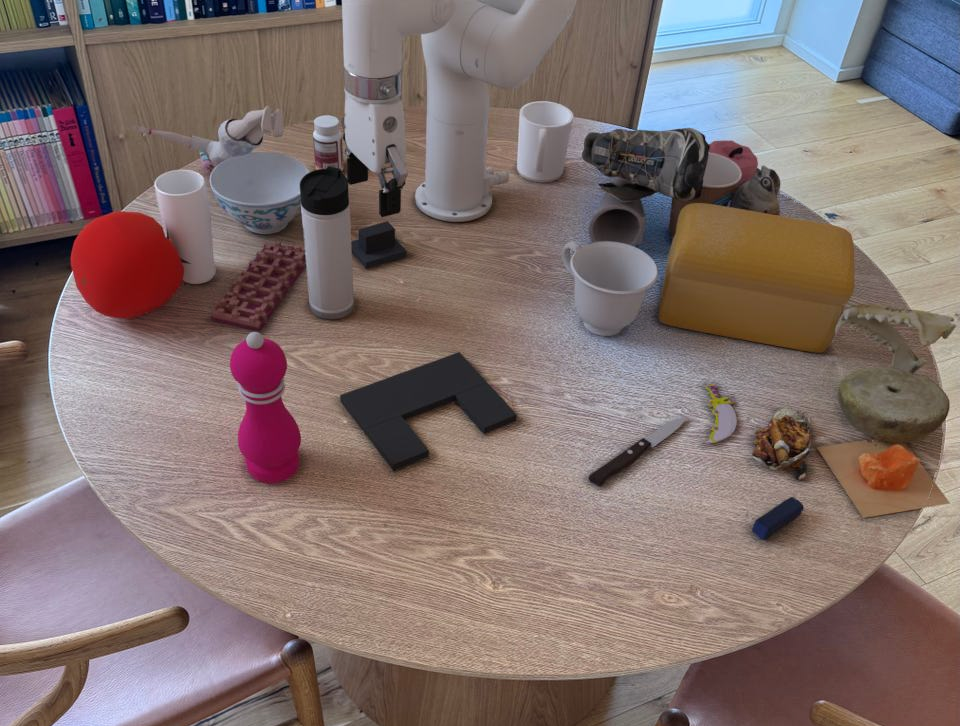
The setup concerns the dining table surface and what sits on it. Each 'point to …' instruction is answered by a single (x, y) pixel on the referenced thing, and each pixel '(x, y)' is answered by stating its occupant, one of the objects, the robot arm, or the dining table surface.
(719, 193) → the coffee cup
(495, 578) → the dining table surface
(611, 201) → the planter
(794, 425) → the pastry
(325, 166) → the pill bottle
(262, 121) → the figurine
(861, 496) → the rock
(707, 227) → the bread
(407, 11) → the robot arm
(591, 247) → the teacup
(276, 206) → the chinaware
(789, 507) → the eraser
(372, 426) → the black u-shaped block
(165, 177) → the drinking glass
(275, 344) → the pepper mill
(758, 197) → the figurine
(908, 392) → the weight
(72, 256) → the tomato
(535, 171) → the mug
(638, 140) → the running shoe
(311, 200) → the travel mug
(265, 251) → the chocolate bar
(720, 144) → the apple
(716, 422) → the decorative knife
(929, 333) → the jawbone
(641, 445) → the kitchen knife
